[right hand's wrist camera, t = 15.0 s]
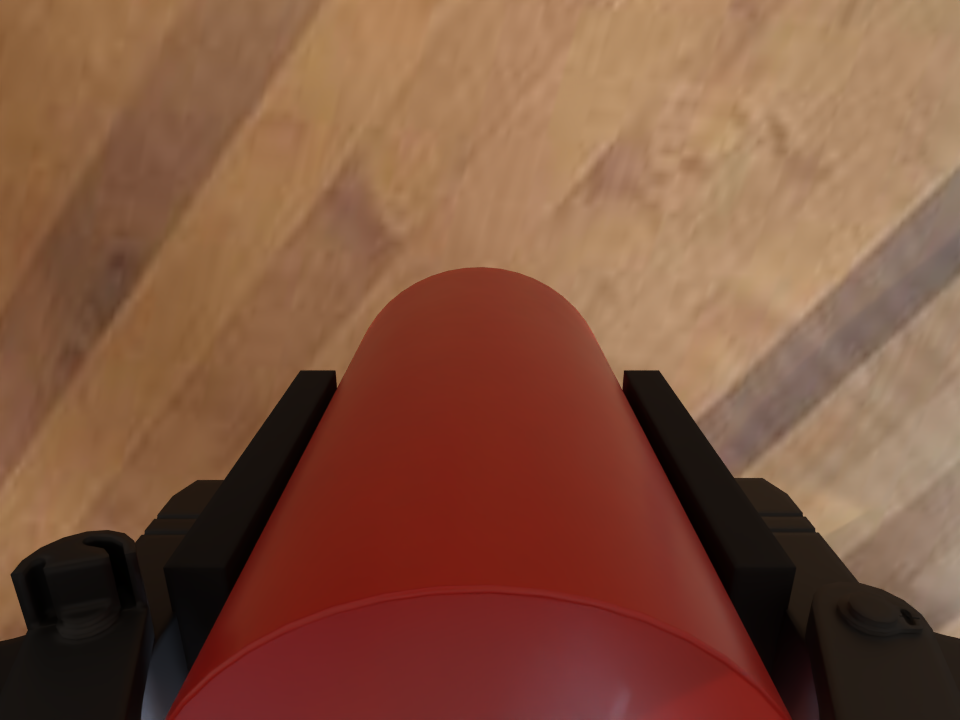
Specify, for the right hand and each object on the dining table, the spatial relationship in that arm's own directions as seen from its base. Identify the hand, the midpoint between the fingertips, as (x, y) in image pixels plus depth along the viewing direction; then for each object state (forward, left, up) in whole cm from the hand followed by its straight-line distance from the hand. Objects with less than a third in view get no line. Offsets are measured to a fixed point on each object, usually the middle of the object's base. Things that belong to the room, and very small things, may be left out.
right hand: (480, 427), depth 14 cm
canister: (0, 0, -2) cm, 2 cm away
